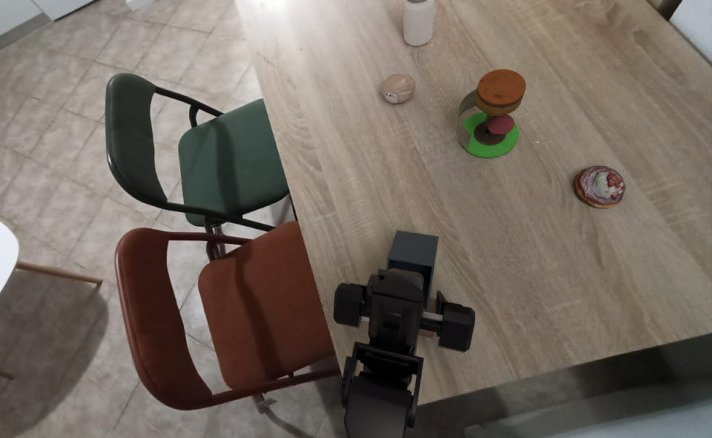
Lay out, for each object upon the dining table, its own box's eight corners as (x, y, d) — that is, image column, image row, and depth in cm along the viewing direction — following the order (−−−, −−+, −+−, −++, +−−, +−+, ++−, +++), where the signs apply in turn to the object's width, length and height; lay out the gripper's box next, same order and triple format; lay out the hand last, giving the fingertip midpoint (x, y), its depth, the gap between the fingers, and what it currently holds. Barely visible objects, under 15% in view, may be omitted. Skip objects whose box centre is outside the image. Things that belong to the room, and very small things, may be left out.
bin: (425, 323, 76) (428, 306, 64) (384, 314, 79) (380, 296, 67) (436, 248, 81) (441, 218, 69) (397, 242, 84) (395, 212, 71)
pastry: (621, 212, 74) (635, 200, 70) (570, 205, 77) (579, 193, 73) (624, 171, 77) (637, 157, 72) (574, 166, 80) (583, 151, 75)
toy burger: (518, 104, 87) (537, 50, 74) (523, 159, 83) (544, 112, 70) (454, 108, 91) (461, 57, 78) (455, 161, 87) (463, 116, 73)
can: (400, 46, 101) (399, 3, 91) (407, 24, 103) (407, -20, 93) (429, 48, 99) (431, 5, 88) (436, 26, 101) (439, -19, 90)
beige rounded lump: (392, 114, 95) (391, 90, 88) (377, 95, 98) (374, 70, 91) (420, 98, 94) (420, 73, 87) (403, 80, 97) (403, 54, 90)
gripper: (484, 311, 49) (481, 251, 62) (324, 280, 56) (351, 231, 69) (468, 387, 54) (468, 316, 67) (321, 349, 60) (347, 291, 74)
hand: (407, 286), depth 69 cm, fingers open, 9 cm apart
